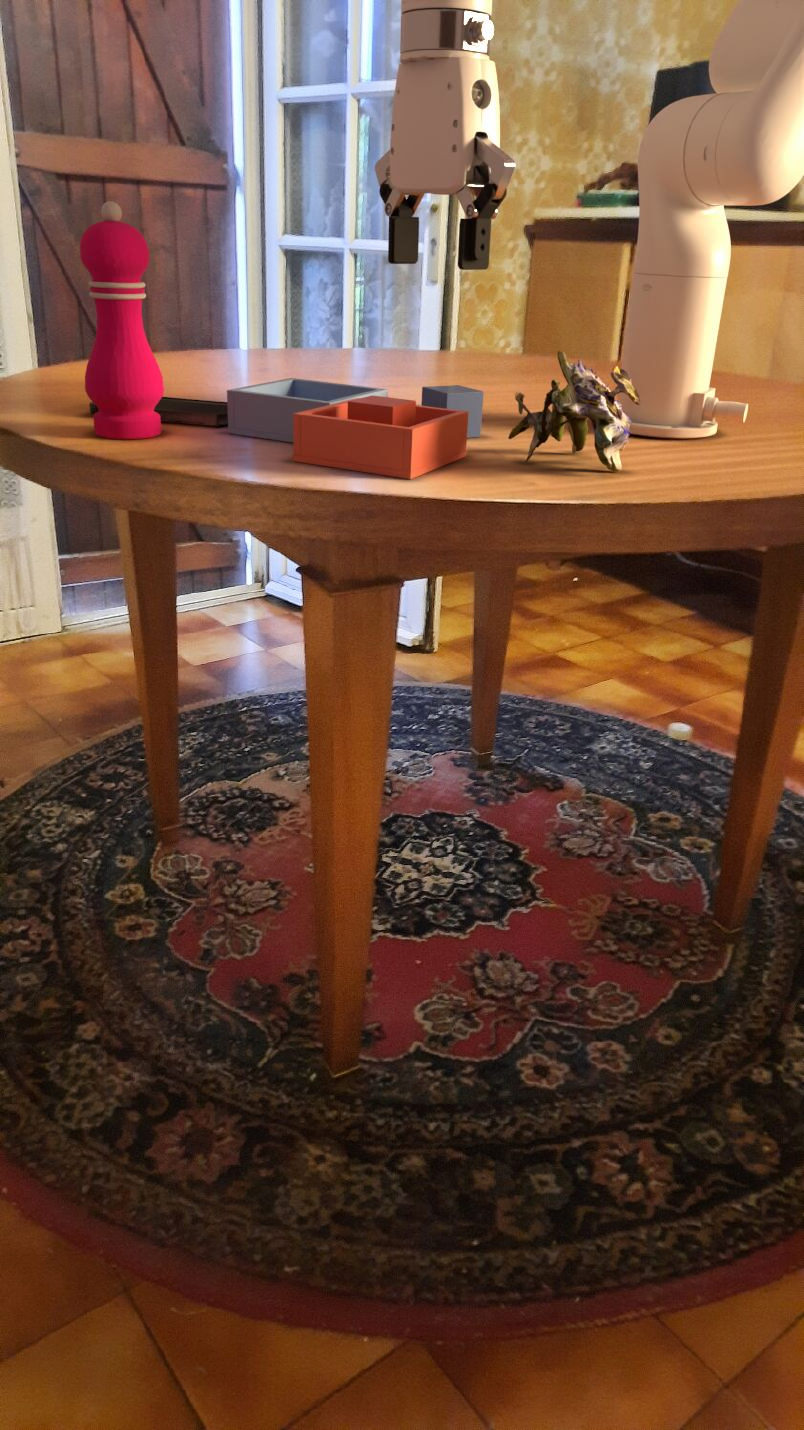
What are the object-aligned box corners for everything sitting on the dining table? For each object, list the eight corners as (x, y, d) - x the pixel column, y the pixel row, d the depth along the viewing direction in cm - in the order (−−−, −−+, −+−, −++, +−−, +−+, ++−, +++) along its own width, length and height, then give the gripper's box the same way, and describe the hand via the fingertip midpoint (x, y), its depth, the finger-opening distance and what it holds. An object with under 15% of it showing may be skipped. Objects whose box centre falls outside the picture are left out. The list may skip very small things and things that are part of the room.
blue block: (480, 437, 104) (484, 391, 102) (444, 440, 102) (447, 393, 100) (455, 429, 107) (458, 385, 105) (419, 432, 105) (421, 386, 103)
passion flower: (602, 529, 94) (646, 437, 84) (488, 499, 94) (518, 404, 83) (616, 441, 100) (658, 345, 89) (508, 413, 99) (538, 314, 89)
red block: (413, 451, 93) (416, 400, 91) (391, 459, 89) (393, 407, 87) (370, 445, 95) (371, 395, 93) (346, 453, 91) (347, 401, 89)
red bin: (465, 456, 95) (468, 411, 93) (410, 479, 85) (412, 429, 84) (357, 441, 99) (357, 397, 98) (293, 461, 90) (292, 413, 88)
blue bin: (386, 430, 105) (388, 389, 103) (329, 448, 96) (329, 403, 94) (291, 417, 110) (291, 377, 108) (227, 433, 100) (226, 390, 98)
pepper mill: (176, 429, 101) (163, 204, 92) (153, 442, 95) (137, 202, 86) (105, 424, 102) (86, 200, 93) (77, 438, 95) (54, 198, 86)
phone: (120, 393, 112) (249, 403, 109) (121, 404, 112) (250, 414, 109) (84, 403, 105) (221, 415, 102) (85, 415, 105) (221, 426, 102)
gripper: (551, 39, 81) (533, 271, 89) (413, 57, 93) (408, 261, 101) (483, 27, 77) (470, 272, 85) (347, 48, 89) (347, 262, 97)
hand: (436, 266), depth 93 cm, fingers open, 9 cm apart
